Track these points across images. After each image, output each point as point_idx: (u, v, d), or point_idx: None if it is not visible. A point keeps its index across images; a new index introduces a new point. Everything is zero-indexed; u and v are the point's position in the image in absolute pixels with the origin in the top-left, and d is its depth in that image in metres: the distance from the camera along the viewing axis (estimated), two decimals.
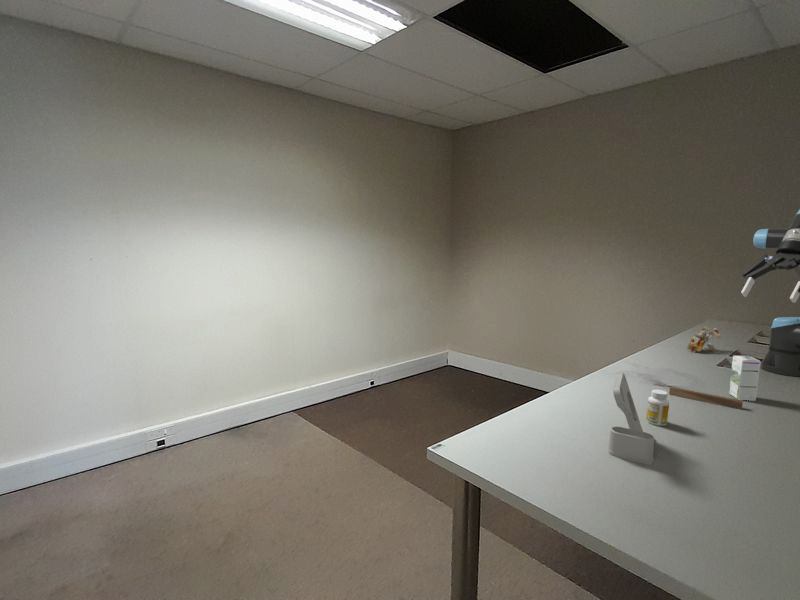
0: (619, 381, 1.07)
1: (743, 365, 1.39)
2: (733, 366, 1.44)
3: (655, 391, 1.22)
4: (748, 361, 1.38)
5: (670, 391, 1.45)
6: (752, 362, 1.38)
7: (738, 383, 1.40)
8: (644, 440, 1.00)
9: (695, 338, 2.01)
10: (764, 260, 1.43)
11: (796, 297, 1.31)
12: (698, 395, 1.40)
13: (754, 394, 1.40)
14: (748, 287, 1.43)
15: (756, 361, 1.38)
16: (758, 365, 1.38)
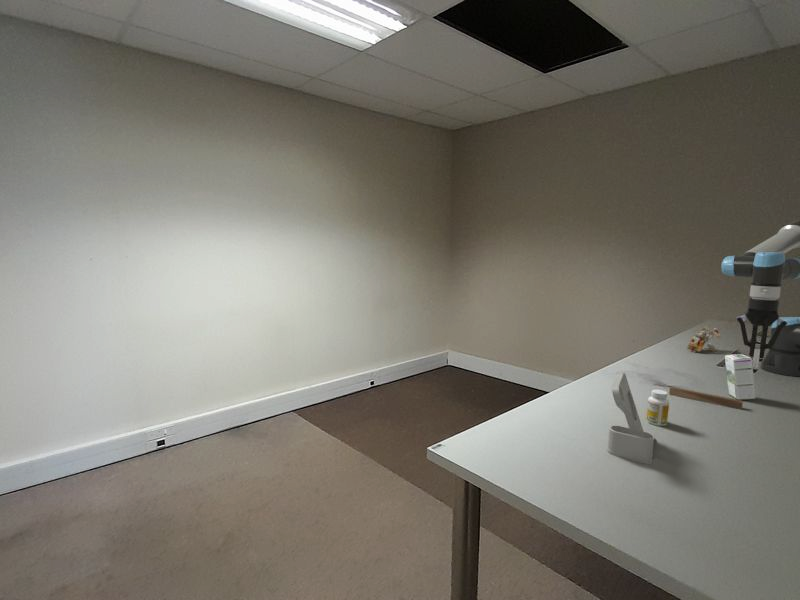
0: (619, 380, 1.08)
1: (734, 364, 1.40)
2: (727, 366, 1.44)
3: (655, 391, 1.22)
4: (739, 360, 1.39)
5: (670, 391, 1.45)
6: (743, 360, 1.39)
7: (734, 382, 1.41)
8: (643, 439, 1.00)
9: (695, 338, 2.01)
10: None
11: None
12: (698, 395, 1.40)
13: (753, 392, 1.40)
14: None
15: (747, 359, 1.39)
16: (750, 362, 1.39)
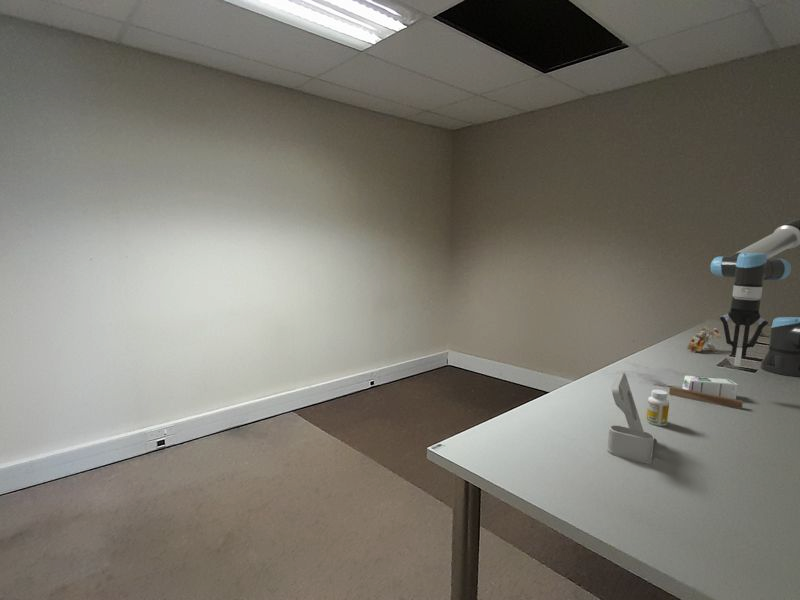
0: (619, 380, 1.08)
1: None
2: None
3: (655, 391, 1.22)
4: None
5: (670, 391, 1.45)
6: (691, 387, 1.44)
7: None
8: (642, 439, 1.01)
9: (695, 338, 2.01)
10: (726, 321, 1.43)
11: None
12: (698, 395, 1.40)
13: (729, 385, 1.41)
14: None
15: (690, 383, 1.44)
16: (695, 382, 1.44)
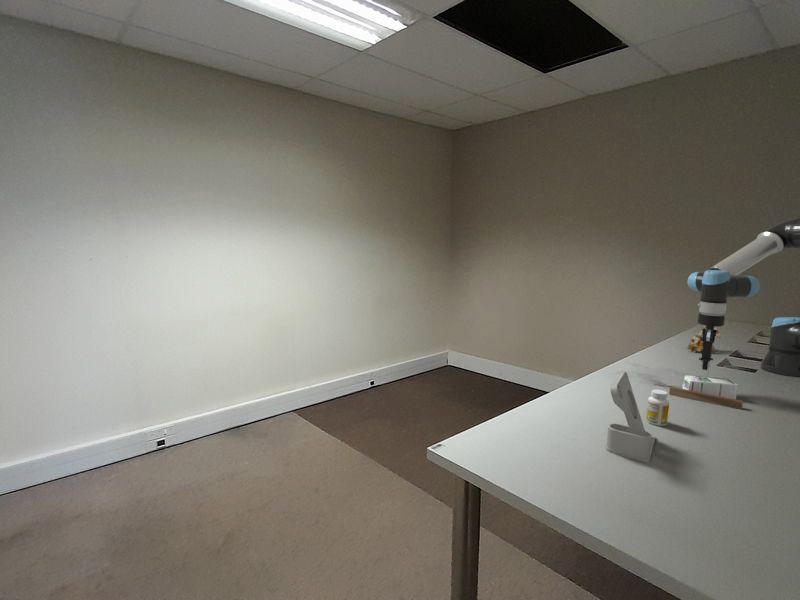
0: (618, 379, 1.09)
1: None
2: None
3: (655, 391, 1.22)
4: None
5: (670, 391, 1.45)
6: (691, 387, 1.44)
7: None
8: (640, 437, 1.01)
9: (695, 338, 2.01)
10: None
11: (705, 374, 1.48)
12: (698, 395, 1.40)
13: (730, 385, 1.41)
14: None
15: (690, 384, 1.44)
16: (695, 382, 1.43)
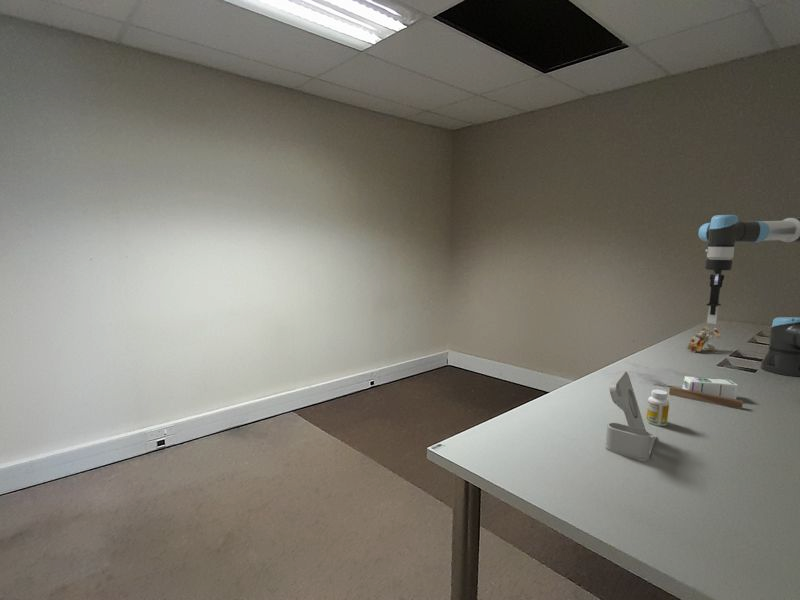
0: (618, 378, 1.09)
1: None
2: None
3: (655, 391, 1.22)
4: None
5: (670, 391, 1.45)
6: (692, 388, 1.43)
7: None
8: (639, 436, 1.02)
9: (695, 338, 2.01)
10: None
11: (713, 319, 1.49)
12: (698, 395, 1.40)
13: (730, 385, 1.40)
14: None
15: (691, 384, 1.43)
16: (695, 383, 1.43)
